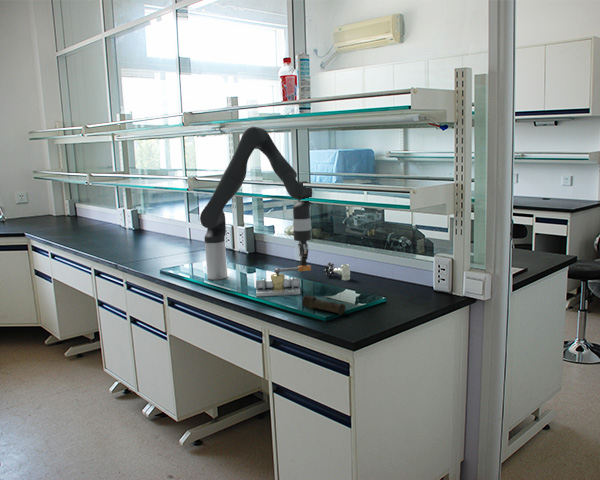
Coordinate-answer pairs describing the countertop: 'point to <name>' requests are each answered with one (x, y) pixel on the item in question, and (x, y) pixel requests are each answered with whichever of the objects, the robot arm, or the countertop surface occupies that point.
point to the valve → (338, 271)
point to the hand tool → (322, 305)
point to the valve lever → (294, 269)
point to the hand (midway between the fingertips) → (303, 268)
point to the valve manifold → (278, 286)
